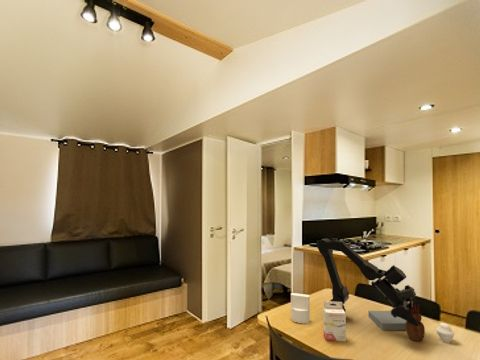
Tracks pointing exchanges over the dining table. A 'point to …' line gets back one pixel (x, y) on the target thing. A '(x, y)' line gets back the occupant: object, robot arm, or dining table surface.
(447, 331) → the muffin
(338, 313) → the ink cartridge box
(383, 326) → the plinth
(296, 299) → the base with upright slab
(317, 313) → the dining table surface
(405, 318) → the robot arm
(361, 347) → the dining table surface
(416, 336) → the wooden figurine
